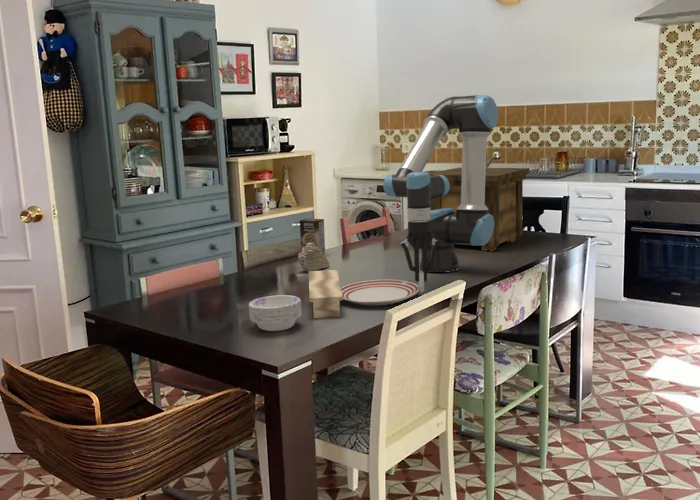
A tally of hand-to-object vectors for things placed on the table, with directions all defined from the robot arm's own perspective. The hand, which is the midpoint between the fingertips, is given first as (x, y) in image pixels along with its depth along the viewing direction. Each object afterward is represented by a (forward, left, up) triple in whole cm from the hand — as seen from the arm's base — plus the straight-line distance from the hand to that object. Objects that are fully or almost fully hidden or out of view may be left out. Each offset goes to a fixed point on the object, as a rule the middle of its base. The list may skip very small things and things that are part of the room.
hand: (421, 290), depth 229 cm
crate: (-39, -83, -2) cm, 92 cm away
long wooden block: (+32, 0, -2) cm, 32 cm away
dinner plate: (+14, 0, -2) cm, 15 cm away
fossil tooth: (+35, -48, -2) cm, 60 cm away
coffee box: (+35, -76, -2) cm, 84 cm away
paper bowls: (+47, +25, -2) cm, 53 cm away
